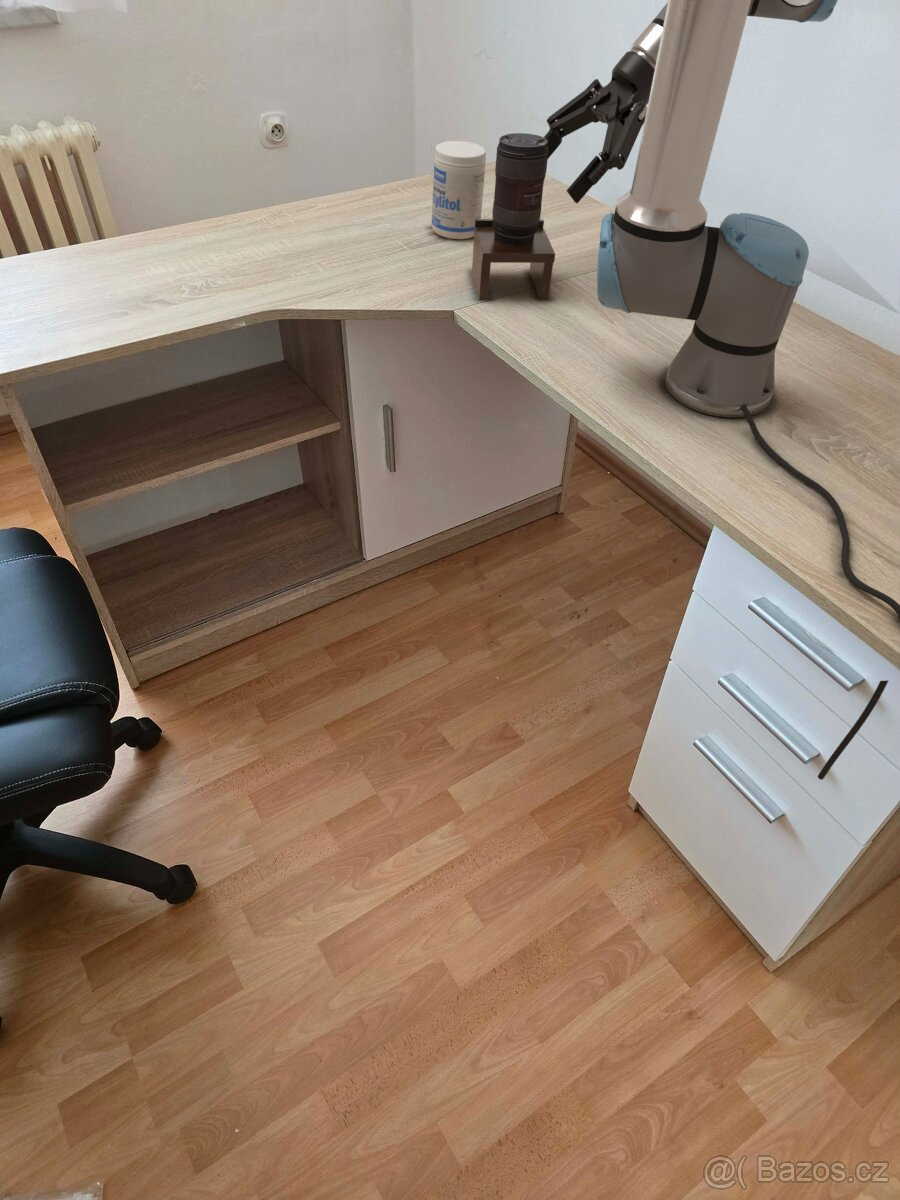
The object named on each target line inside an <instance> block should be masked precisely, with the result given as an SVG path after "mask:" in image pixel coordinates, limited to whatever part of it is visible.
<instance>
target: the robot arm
mask: <svg viewBox="0 0 900 1200" xmlns="http://www.w3.org/2000/svg"><path fill="white" fill-rule="evenodd" d="M838 1H839V0H668V1H667V2H666V4H665V5H664V6H663V7H662V9H661V10H660V11H659V12H658V14H657V15H656V16H655V17H654V19H653V20H652V21H651V22H650V23H649V24H648V26H646V28H644V30H643V31H642V32H641V34H639V36H638V37H637V38H636V40H634V42H633V43H632V44H631V47H630V51H626V52H625V53H624V55H622V57H621V58H620V60H619V61H617V63H616V64H615V66H614V67H613V68H612V70H611V79H610V81H609V82H608V84H606V85H604V86H603V85H602V83H601V82H600V80H599V79H598V78H595V79H594V80H593V81H591V83H590V84H589V85H588V86H587V87H586V88H585V89H584V90H583V91H582V92H580V93H579V94H578V95H576V96H574V98H572V99H571V100H569V101H568V102H567V103H565V104H564V105H563V106H561V107H560V108H559V109H557V110H556V111H554V113H552V114H551V115H549V117H547V119H546V123H547V125H548V126H549V130H548V131H547V133H546V134H545V135H544V136H543V137H544V138H545V139H547V140H548V143H547V146H548V159H550V157H551V156H552V155H553V154H554V153H555V151H556V150H557V149H558V148H559V147H560V146H561V144H562V143H563V138H565V137H566V136H568V135H570V134H572V133H575V132H577V131H579V130H580V129H582V128H584V127H586V126H587V125H589V124H592V123H595V124H597V123H599V122H600V123H602V124H606V125H607V127H606V131H605V137H604V141H603V145H602V150H601V151H599V152H598V155H595V156H594V157H593V158H592V160H590V162H589V163H588V164H587V165H586V167H585V168H584V169H583V171H582V172H580V173H579V175H578V176H577V177H576V179H575V180H573V182H572V183H571V184H570V186H569V187H568V188H567V189H566V192H567V194H568V195H569V197H570V198H571V199H572V201H573V202H574V203H575V204H579V202H580V201H581V200H582V199H583V198H584V197H585V195H587V193H588V192H589V191H590V189H592V187H593V186H595V185H596V184H598V182H599V181H600V180H601V179H602V178H603V176H605V174H606V173H608V171H609V170H613V169H615V168H616V169H617V170H618V171H621V170H622V169H624V167H625V166H626V163H627V161H628V158H629V156H630V154H631V152H632V150H633V147H634V145H635V143H636V142H637V141H636V140H637V139H638V137H639V134H640V132H641V129H642V133H641V138H640V143H639V148H638V153H637V158H636V164H635V169H634V174H633V179H632V184H631V189H630V190H628V191H626V193H624V194H623V195H622V196H620V197H619V198H618V199H617V201H616V203H615V209H614V212H610V213H608V214H605V215H603V217H602V219H601V224H600V233H599V246H598V255H597V256H598V257H597V259H598V260H597V273H596V276H597V277H596V295H597V299H598V301H599V303H600V304H601V306H603V307H604V308H608V309H611V310H613V309H614V310H617V311H624V313H626V314H631V313H633V314H634V313H636V314H644V315H650V316H658V317H666V318H674V319H681V320H687V321H688V320H689V321H694V323H693V327H692V330H691V332H690V334H689V335H688V337H687V339H686V340H685V342H684V343H683V345H682V346H681V348H680V349H679V351H678V352H677V353H676V355H675V357H674V358H673V359H672V361H671V363H670V364H669V366H668V369H667V372H666V376H665V387H666V389H667V391H668V392H669V394H670V395H671V396H672V397H673V398H674V399H675V400H676V401H678V403H680V404H682V405H683V406H685V407H688V408H689V409H692V410H694V411H696V412H699V413H703V414H706V415H710V416H714V417H719V418H720V417H721V418H732V419H733V418H734V419H735V418H745V420H746V421H747V423H748V426H749V428H750V431H751V433H752V435H753V437H754V438H755V440H756V441H757V442H758V444H759V445H760V447H761V448H762V449H763V450H764V451H765V453H767V454H768V456H770V457H771V458H772V459H773V460H774V461H775V462H777V464H779V465H780V466H781V467H782V468H784V470H786V471H787V472H788V473H790V474H791V475H793V476H794V477H795V478H797V479H799V480H800V481H802V482H803V483H805V484H806V485H808V486H809V487H812V488H813V489H814V490H816V491H817V492H818V493H819V494H820V495H821V496H823V497H824V499H825V500H826V501H827V502H828V503H829V505H830V506H831V508H832V510H833V511H834V514H835V517H836V520H837V522H838V523H837V524H838V526H839V530H840V535H841V538H842V548H841V556H840V557H841V559H840V560H841V566H842V569H843V572H844V574H845V576H846V578H847V579H848V581H850V583H852V584H853V585H854V586H855V587H856V588H857V589H859V590H861V591H863V592H864V593H867V594H868V595H870V596H872V597H875V598H876V599H878V600H880V601H881V602H883V603H885V604H886V605H888V606H889V607H890V608H891V609H892V610H893V611H894V612H895V613H896V614H897V617H898V619H899V620H900V604H899V603H898V602H897V601H896V600H895V599H894V598H892V597H891V596H889V595H887V594H885V592H882V591H880V590H878V589H876V588H874V587H872V586H869V585H868V584H866V583H865V582H863V581H862V580H860V579H859V578H858V577H857V576H856V575H855V574H854V572H853V570H852V568H851V566H850V561H849V560H850V559H849V554H850V546H851V544H850V543H851V542H850V534H849V531H848V527H847V524H846V523H847V522H846V520H845V516H844V514H843V510H842V509H841V506H840V504H839V503H838V502H837V500H836V499H835V498H834V496H833V495H832V494H831V493H830V492H829V491H828V490H827V489H826V488H824V487H823V486H822V485H821V484H820V483H818V482H817V481H815V480H813V479H812V478H810V477H809V476H807V475H805V474H804V473H802V472H800V471H799V470H797V469H796V468H795V467H793V466H792V465H791V464H790V463H789V462H787V460H785V459H784V458H782V457H781V456H780V455H779V454H778V453H777V452H776V451H775V450H774V449H773V448H772V447H771V446H770V444H768V443H767V442H766V440H765V438H763V436H762V435H761V434H760V432H759V430H758V427H757V425H756V422H755V420H754V418H753V416H754V415H756V414H760V413H762V412H763V411H764V410H765V409H767V407H768V406H769V405H770V402H771V400H772V397H773V395H774V391H775V366H776V365H775V361H776V358H775V357H776V348H777V346H778V343H779V340H780V338H781V335H782V332H783V330H784V327H785V324H786V321H787V319H788V316H789V315H790V314H789V313H790V311H791V308H792V305H793V303H794V300H795V297H796V295H797V293H798V290H799V287H800V286H801V285H802V283H803V281H804V278H803V277H804V274H805V270H806V267H807V264H808V263H807V262H808V260H809V255H810V251H809V250H810V249H809V246H808V243H807V241H806V240H805V239H804V237H803V236H802V235H801V234H800V233H799V232H798V231H796V230H794V229H793V228H791V227H790V226H788V225H786V224H785V223H782V222H780V221H778V220H775V219H772V218H770V217H766V216H762V215H760V214H754V213H747V212H740V213H730V214H728V215H726V216H725V217H724V219H723V220H722V221H721V222H720V226H719V227H716V226H708V225H706V223H707V219H708V211H707V209H706V207H705V206H704V205H703V203H702V201H701V199H700V198H701V194H702V191H703V186H704V182H705V178H706V175H707V171H708V167H709V164H710V159H711V155H712V152H713V148H714V144H715V141H716V136H717V133H718V130H719V125H720V121H721V117H722V113H723V109H724V107H725V102H726V98H727V95H728V90H729V87H730V82H731V79H732V76H733V72H734V67H735V64H736V61H737V60H736V59H737V56H738V52H739V48H740V44H741V40H742V38H743V34H744V29H745V26H746V21H747V18H748V17H756V18H764V19H775V20H783V21H784V20H785V21H795V22H797V23H800V24H801V23H802V24H803V23H806V22H813V23H814V22H815V23H817V22H818V23H821V22H824V21H826V20H828V19H829V18H830V17H831V15H832V14H833V12H834V9H835V7H836V6H837V3H838ZM642 127H643V128H642ZM888 683H889V680H880V681H879V682H878V685H877V687H876V688H875V690H874V692H873V694H872V696H871V698H870V700H869V701H868V703H867V705H866V706H865V708H864V710H862V712H861V714H860V716H859V717H858V719H857V720H856V721H855V723H854V724H853V726H852V727H851V729H849V731H848V733H847V734H846V735H845V737H844V738H843V739H842V741H840V743H839V745H838V746H837V747H836V749H835V750H834V751H833V752H832V754H831V755H830V756H829V758H828V760H827V761H826V763H825V764H824V766H823V767H822V768H821V770H820V772H819V773H818V774H817V778H818V779H819V780H824V779H825V777H826V776H827V775H828V773H829V771H830V770H831V769H832V767H833V765H834V764H835V763H836V761H837V760H838V759H839V758H840V756H841V755H842V754H843V752H844V750H845V749H846V748H847V747H848V745H849V744H850V743H851V742H852V740H853V739H854V737H855V736H856V735H857V734H858V732H859V731H860V729H861V728H862V726H864V724H865V722H866V721H867V719H868V718H869V716H870V715H871V713H872V712H873V710H874V708H875V707H876V705H877V703H878V702H879V700H880V698H881V697H882V694H883V693H884V692H885V689H886V686H887V685H888Z"/></svg>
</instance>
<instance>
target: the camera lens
mask: <svg viewBox="0 0 900 1200" xmlns="http://www.w3.org/2000/svg"><path fill="white" fill-rule="evenodd" d="M498 139H499V140H498V141H499V142H498V144H497V147H496V157H495V172H494V173H495V175H494V176H495V182H494V183H495V184H494V196H493V203H492V219H493V229H494V238H495V240H496V241H498V242H499V243H501V244H504V245H508V246H525V245H529V244H531V243H532V242H533V240H534V235H535V233H536V232H537V230H538V225H539V221H540V219H541V216H542V215H541V214H542V202H543V193H544V183H545V180H546V173H547V168H548V161H549V158H548V146H547V143H548V140H547V139H545V138H544V136H541V135H538V134H533V133H523V132H515V133H514V132H513V133H507V134H504V135H501V136H500V137H499V138H498Z"/></svg>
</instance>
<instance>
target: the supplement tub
mask: <svg viewBox="0 0 900 1200" xmlns="http://www.w3.org/2000/svg"><path fill="white" fill-rule="evenodd" d="M434 152H435V153H434V157H433V158H434V159H433V178H432V179H433V181H432V199H431V201H432V205H431V229H432V231H433V232H434V233H435V234H436V235H438V236H440V237H443V238H446V239H450V240H454V239H455V240H467V239H471V238H474V225H475V219H482V211H483V210H482V209H483V198H484V187H485V175H486V163H487V158H486V155H487V151H486V148H485V147H483V146H482V145H480V144H477V143H474V142H472V141H464V140H447V141H442V142H440V143H438V144H437V145H436V146H435V151H434Z"/></svg>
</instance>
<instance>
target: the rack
mask: <svg viewBox="0 0 900 1200" xmlns="http://www.w3.org/2000/svg"><path fill="white" fill-rule="evenodd" d="M544 225H545V220H544V219H541V218H540V221H539V225H538V230H537V232H536V233H535V235H534V240H533V242H532V243H531V244H529V245H525V246H508V245H504V244H501V243H499V242H498V241H496V240H495V238H494V229H493V218H481V219H475V225H474V236H473V247H472V262H471V263H472V265H471V274H472V277H473V281H474V286H475V289H476V294H477V297H478V300H480V301H481V300H483V301H485V300H489V291H490V289H489V288H490V278H491V277H490V276H491V265H492V263H493V264H494V263H496V264H497V263H501V264H503V263H507V264H509V263H511V264H512V263H514V264H516V263H519V264H521V263H523V264H528V263H529V272H528V273H529V275H530V278H531V279H532V283H533V285H534V288H535V291H536V293H537V296H538V298H539V300H540V301H541V300H544V301H545V300H546V301H548V300H549V298H550V291H551V290H550V289H551V282H552V275H553V267H554V264H555V259H556V252H555V250H554V247H553V246H552V244H551V241H550V239H549V237H548V235H547V232H546V231H545V228H544Z"/></svg>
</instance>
